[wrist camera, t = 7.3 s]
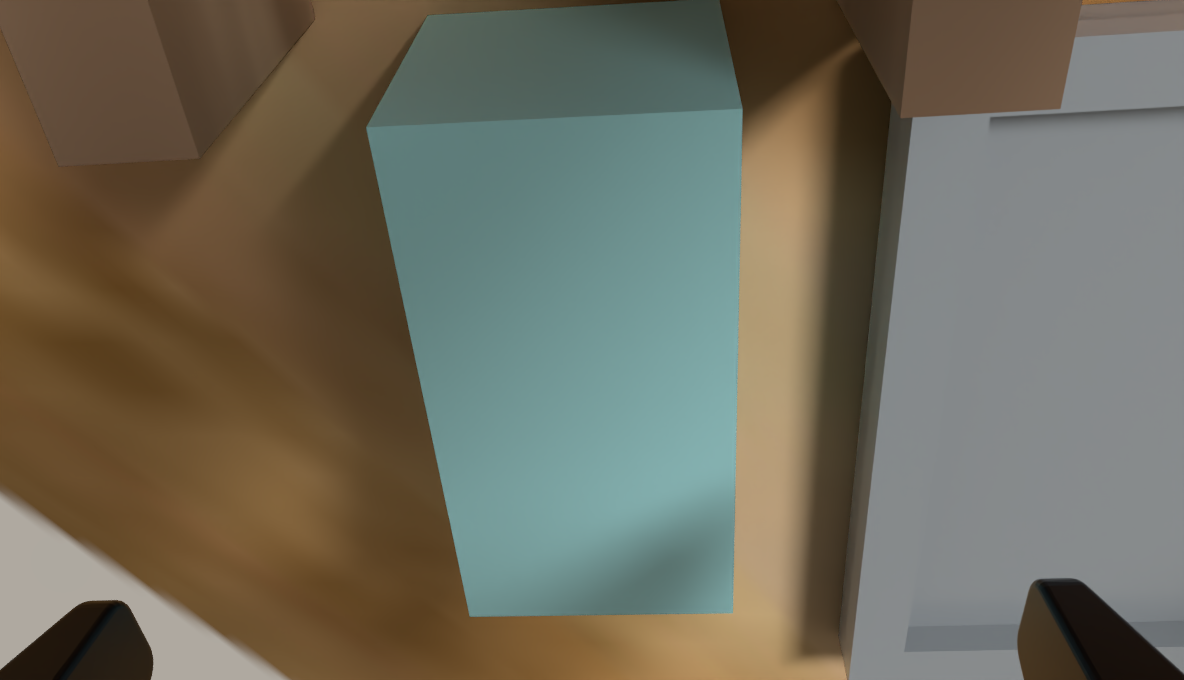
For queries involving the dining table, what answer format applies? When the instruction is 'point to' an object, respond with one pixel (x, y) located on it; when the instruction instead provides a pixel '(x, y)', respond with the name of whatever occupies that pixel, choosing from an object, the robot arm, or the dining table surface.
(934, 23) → the bay
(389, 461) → the dining table surface
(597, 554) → the block
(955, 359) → the tray
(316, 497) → the dining table surface
